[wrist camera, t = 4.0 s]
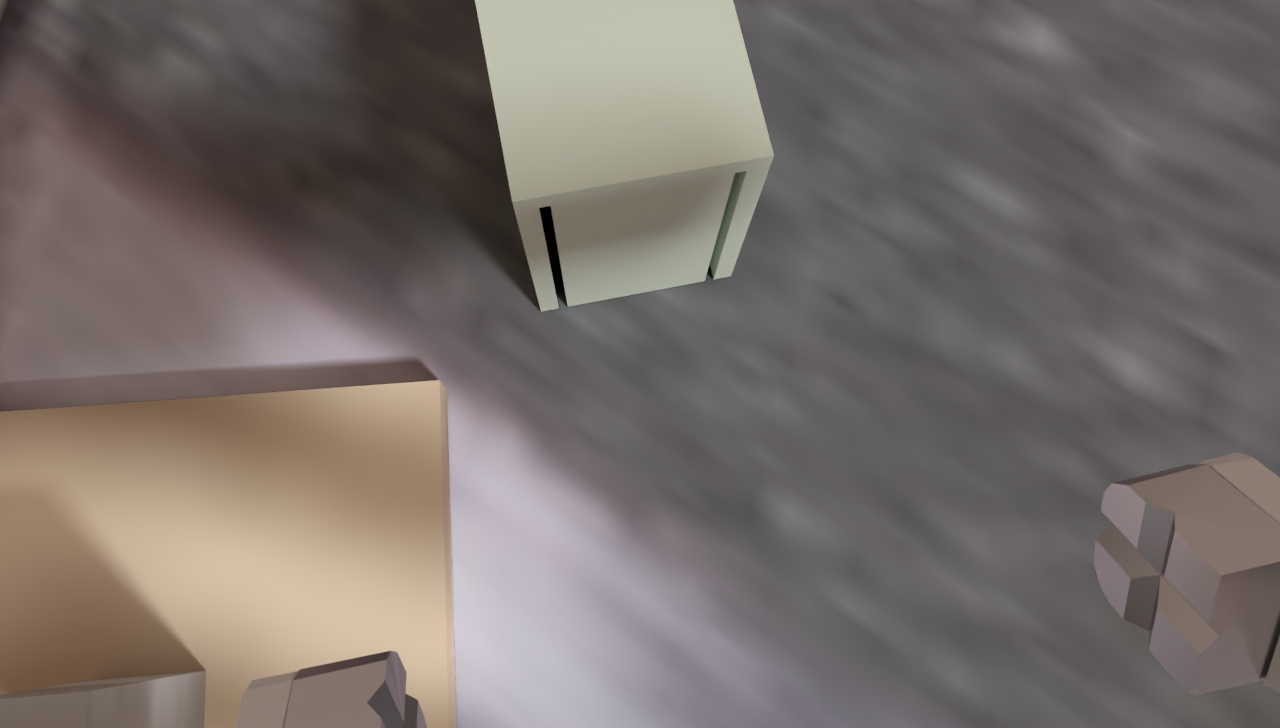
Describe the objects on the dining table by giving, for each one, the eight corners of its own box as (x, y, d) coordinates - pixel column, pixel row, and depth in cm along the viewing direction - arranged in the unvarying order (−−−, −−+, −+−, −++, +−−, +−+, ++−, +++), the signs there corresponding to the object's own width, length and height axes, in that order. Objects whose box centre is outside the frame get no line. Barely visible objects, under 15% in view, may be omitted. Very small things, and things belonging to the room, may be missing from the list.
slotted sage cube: (730, 276, 26) (773, 155, 19) (540, 311, 25) (512, 201, 18) (689, 106, 27) (715, -66, 20) (508, 137, 26) (469, -28, 19)
